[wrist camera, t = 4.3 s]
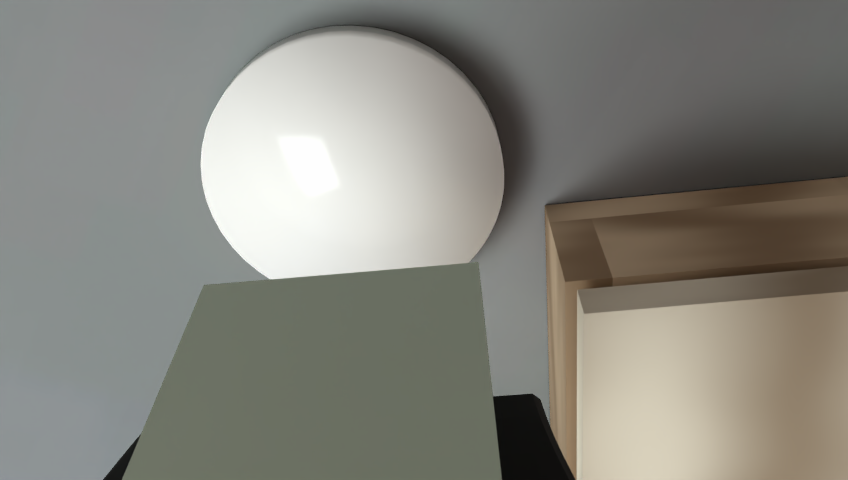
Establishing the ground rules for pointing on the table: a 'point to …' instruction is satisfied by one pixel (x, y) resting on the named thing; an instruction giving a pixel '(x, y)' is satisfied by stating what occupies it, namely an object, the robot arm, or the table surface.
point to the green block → (329, 382)
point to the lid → (715, 378)
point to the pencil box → (677, 255)
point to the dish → (352, 157)
